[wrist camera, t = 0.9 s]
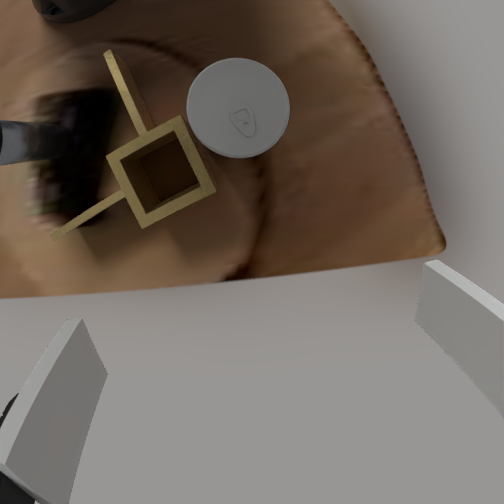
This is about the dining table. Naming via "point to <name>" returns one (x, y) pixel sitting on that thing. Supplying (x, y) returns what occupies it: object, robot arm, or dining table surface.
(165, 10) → the dining table surface
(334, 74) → the dining table surface
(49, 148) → the pin
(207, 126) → the canned food
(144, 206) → the hinge
